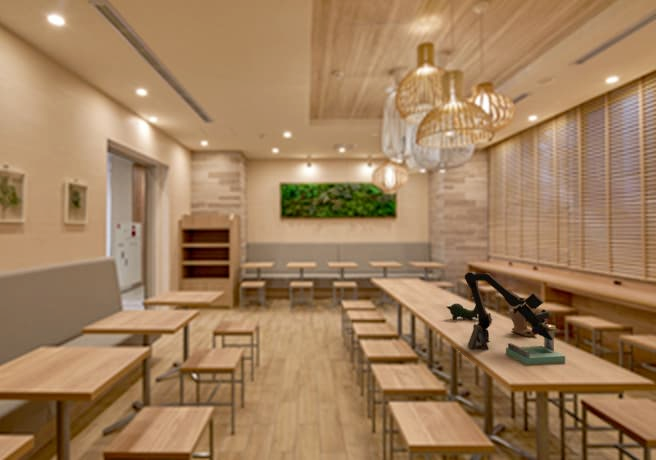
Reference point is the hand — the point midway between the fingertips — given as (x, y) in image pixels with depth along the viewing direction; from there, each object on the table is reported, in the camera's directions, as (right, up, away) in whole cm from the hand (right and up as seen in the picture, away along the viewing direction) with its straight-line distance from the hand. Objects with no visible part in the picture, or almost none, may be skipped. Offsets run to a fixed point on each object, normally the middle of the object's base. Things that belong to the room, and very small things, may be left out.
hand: (552, 338), depth 199 cm
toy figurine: (-20, -7, +71) cm, 74 cm away
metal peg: (-1, -7, +1) cm, 7 cm away
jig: (-15, -7, -10) cm, 19 cm away
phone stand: (-36, -7, +6) cm, 37 cm away
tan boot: (+1, -7, +33) cm, 34 cm away
